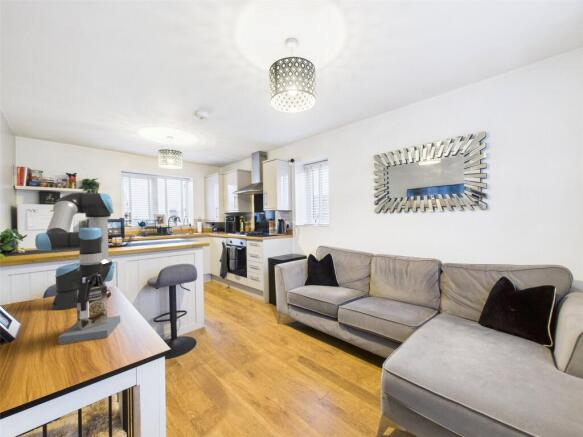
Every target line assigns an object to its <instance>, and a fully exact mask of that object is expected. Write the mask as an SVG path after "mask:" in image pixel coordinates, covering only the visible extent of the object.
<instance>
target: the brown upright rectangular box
mask: <svg viewBox="0 0 583 437" xmlns="http://www.w3.org/2000/svg"><path fill="white" fill-rule="evenodd" d="M103 285H104V284H103ZM103 285H100V286H93V287H92V288H91V291H90V294H89V298H88V301H87V302H89V318H85V319H80V303H78V304H77V307H76V323H77V327H78V328H80V329H81V330H84V329H87V328H91V327H94V326H97V325H100V324H104V323H107V317H108V286H106V285H104V286H103ZM78 292H79V289H77V297H78Z"/></svg>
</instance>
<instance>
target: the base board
mask: <svg viewBox="0 0 583 437" xmlns="http://www.w3.org/2000/svg"><path fill="white" fill-rule="evenodd" d="M120 323H121V315H115V316H107V323H104V324H100V325H97V326H94V327H91V328H87V329H84V330H81V329H80V328H78V327H77V322H75V323H74V324H73V325H72V326H71V327H69V328H68V329H67V330H66V331H65V332H63V333H62V334H60V335H59V336H58V345H59V346H60V345H66V344H72V343H73V344H74V343H79V342H86V341H92V340H100V339H106V338H108V337H110V335H111V334H112V333H113V331H114V330H115V329H116V328H117V326H118V325H119V324H120Z"/></svg>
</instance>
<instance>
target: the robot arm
mask: <svg viewBox="0 0 583 437" xmlns="http://www.w3.org/2000/svg"><path fill="white" fill-rule="evenodd" d="M52 210H53V214H52V217H51V219H50V222H49V225H48V227H47V229H46V231H45V232H42V233H41V232H40V233H37V234H36V235H35V241H34V242H35V248H36V250H37V251H57V250H59V251H60V250H71V249H72V250H75V249H79V251H78V252H79V253H78V254H79V256H78V257H77V258H78V259H79V262H75V263H70V264H65V265H61V266H59V267H58V268H56V270H55V292H56V293H55V295H54V299H53V301H52V304H51V308H52V310H55V311H58V310H60V311H62V310H69V309H73V308H77V304H78V303H80V319H85V318H89V302H87V301H88V298H89V294H90V291H91V288H92V287H93V286H100V285H103V286H105V284H104V283H107V282H112V280H113V278H114V272H115V265H116V263H115V262H114V261H112V260H113V259H112V258H111V257H109V234H108V233H109V228H108V227H109V226H108V225H109V224H108V223H109V221H108V220H109V218H111V216H112V214H114V207H113V201H112V196H111V195H110V194H108V193H103V192H102V193H99V192H72V193H68V194H66V195H64V196H62V197H60V198H59V199H57V200H56V201H55V202H54V203H53V206H52ZM77 214H84V215H85V218H87V219H88V222H89V223H88V227H81V228H79V230H78V231H70V230H71V227H72V224H73V219H74V216H75V215H77ZM77 289H79V292H78V297H77Z"/></svg>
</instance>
